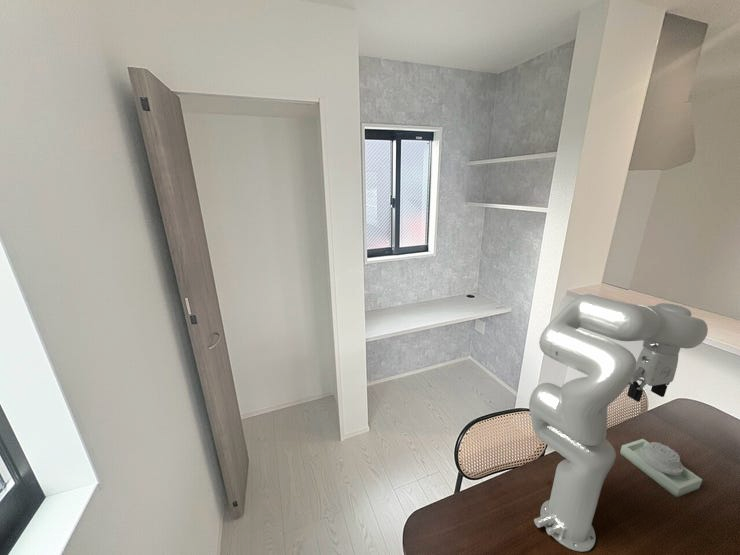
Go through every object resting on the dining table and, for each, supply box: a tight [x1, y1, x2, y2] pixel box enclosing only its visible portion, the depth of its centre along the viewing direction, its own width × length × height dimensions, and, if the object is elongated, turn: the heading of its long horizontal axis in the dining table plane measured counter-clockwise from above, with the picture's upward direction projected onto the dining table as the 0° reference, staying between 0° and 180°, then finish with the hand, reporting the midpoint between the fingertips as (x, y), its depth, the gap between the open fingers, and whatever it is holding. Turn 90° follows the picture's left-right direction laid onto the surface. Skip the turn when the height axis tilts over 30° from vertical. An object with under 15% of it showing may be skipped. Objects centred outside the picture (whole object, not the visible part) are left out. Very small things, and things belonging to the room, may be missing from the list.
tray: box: [619, 438, 703, 498], centre depth 96 cm, size 10×16×4 cm, turn 15°
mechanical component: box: [640, 441, 684, 475], centre depth 94 cm, size 10×4×10 cm
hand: (645, 396), depth 89 cm, fingers open, 9 cm apart
